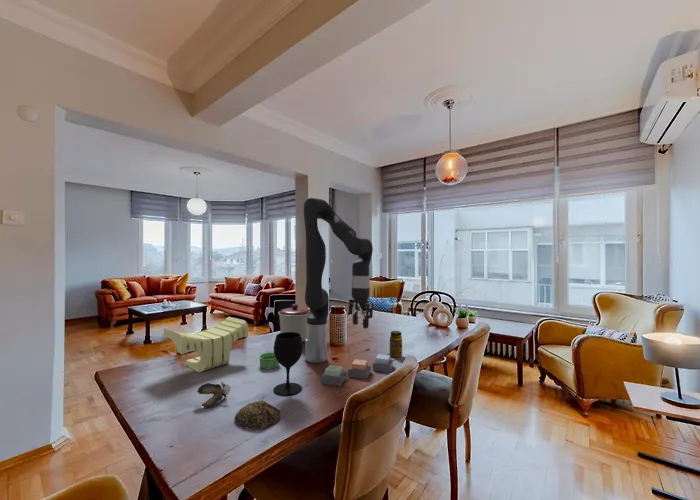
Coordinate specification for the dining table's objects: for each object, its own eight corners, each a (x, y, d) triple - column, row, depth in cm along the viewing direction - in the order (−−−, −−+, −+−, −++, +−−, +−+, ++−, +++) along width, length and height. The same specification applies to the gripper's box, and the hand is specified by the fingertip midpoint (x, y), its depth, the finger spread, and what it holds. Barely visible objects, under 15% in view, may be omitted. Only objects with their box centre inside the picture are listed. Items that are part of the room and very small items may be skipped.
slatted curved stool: (181, 380, 120) (182, 334, 120) (163, 371, 130) (163, 328, 130) (247, 359, 145) (248, 321, 145) (228, 352, 154) (228, 316, 154)
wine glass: (273, 397, 107) (274, 340, 107) (272, 385, 117) (273, 332, 117) (303, 394, 110) (304, 338, 110) (300, 382, 120) (301, 330, 120)
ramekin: (272, 370, 132) (272, 360, 132) (254, 367, 135) (254, 357, 135) (283, 363, 140) (283, 353, 140) (266, 360, 143) (266, 351, 143)
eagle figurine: (216, 389, 110) (192, 394, 103) (226, 374, 109) (203, 378, 102) (226, 407, 106) (201, 413, 99) (236, 392, 105) (212, 397, 98)
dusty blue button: (375, 365, 134) (375, 358, 134) (378, 360, 139) (378, 354, 139) (388, 366, 132) (388, 359, 132) (390, 362, 137) (390, 355, 137)
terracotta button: (351, 370, 127) (351, 363, 127) (355, 366, 132) (355, 359, 132) (364, 372, 125) (364, 365, 125) (367, 367, 131) (367, 360, 131)
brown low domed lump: (228, 421, 93) (229, 404, 93) (261, 404, 103) (261, 389, 103) (257, 436, 86) (257, 418, 86) (289, 416, 96) (289, 400, 96)
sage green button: (324, 377, 120) (325, 369, 120) (329, 372, 125) (329, 364, 125) (338, 379, 119) (338, 371, 119) (342, 373, 124) (342, 366, 124)
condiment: (405, 357, 150) (406, 332, 150) (392, 360, 145) (392, 335, 145) (395, 353, 156) (395, 329, 156) (382, 356, 151) (382, 331, 151)
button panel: (315, 378, 123) (315, 371, 123) (384, 362, 143) (384, 355, 143) (328, 389, 114) (328, 381, 114) (400, 369, 134) (400, 362, 134)
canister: (300, 335, 186) (300, 300, 186) (316, 342, 172) (317, 304, 172) (272, 340, 175) (272, 303, 175) (287, 348, 161) (288, 308, 161)
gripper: (343, 285, 133) (343, 324, 133) (363, 288, 121) (363, 331, 121) (358, 284, 137) (357, 321, 137) (378, 287, 125) (378, 328, 125)
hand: (360, 326), depth 129 cm, fingers open, 7 cm apart
